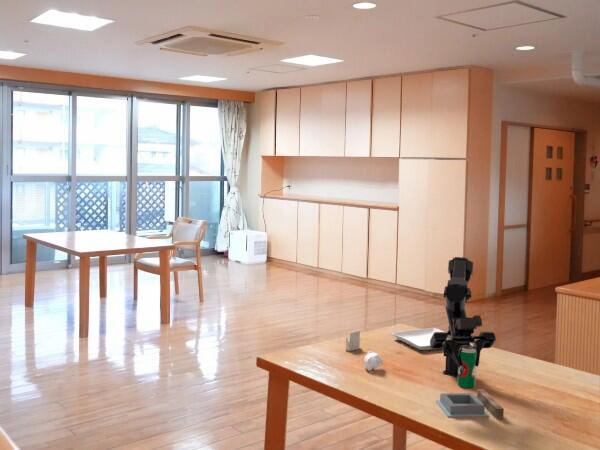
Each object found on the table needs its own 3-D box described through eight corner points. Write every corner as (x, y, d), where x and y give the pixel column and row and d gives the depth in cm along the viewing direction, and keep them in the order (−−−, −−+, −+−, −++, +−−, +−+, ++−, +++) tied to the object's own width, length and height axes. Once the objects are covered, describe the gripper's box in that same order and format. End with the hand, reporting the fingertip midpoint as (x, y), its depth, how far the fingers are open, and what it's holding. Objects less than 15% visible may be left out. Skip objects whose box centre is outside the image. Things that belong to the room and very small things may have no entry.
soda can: (475, 390, 192) (477, 350, 190) (457, 389, 193) (459, 349, 191) (474, 384, 197) (476, 345, 195) (456, 383, 198) (458, 344, 196)
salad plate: (419, 354, 250) (420, 345, 250) (390, 339, 270) (390, 331, 269) (465, 348, 259) (466, 340, 258) (434, 335, 278) (434, 327, 278)
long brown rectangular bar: (476, 398, 204) (477, 389, 203) (483, 398, 204) (483, 389, 204) (496, 419, 188) (496, 408, 188) (503, 419, 188) (503, 408, 188)
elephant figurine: (387, 371, 229) (387, 354, 228) (366, 373, 226) (366, 356, 225) (378, 365, 235) (378, 349, 234) (357, 367, 232) (358, 350, 232)
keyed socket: (435, 401, 201) (436, 392, 200) (474, 401, 202) (474, 391, 201) (447, 417, 189) (448, 407, 188) (488, 416, 190) (489, 406, 189)
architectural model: (342, 350, 254) (343, 331, 253) (354, 346, 259) (355, 328, 258) (349, 352, 252) (349, 333, 251) (361, 348, 256) (362, 330, 256)
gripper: (434, 305, 195) (444, 353, 185) (495, 305, 197) (508, 352, 187) (425, 324, 204) (434, 371, 194) (484, 324, 206) (496, 370, 196)
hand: (468, 366), depth 193 cm, fingers closed on soda can, 5 cm apart
